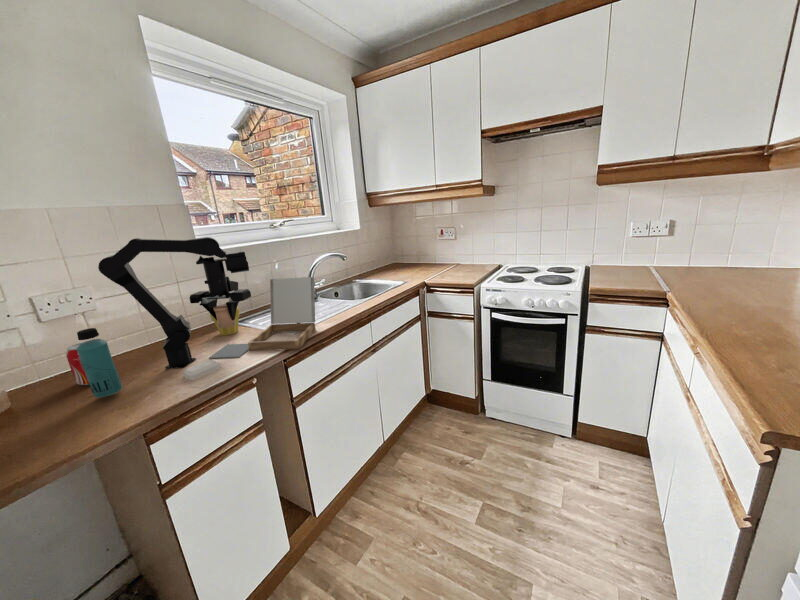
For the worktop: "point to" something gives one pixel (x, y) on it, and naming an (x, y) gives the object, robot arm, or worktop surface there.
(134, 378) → the worktop surface
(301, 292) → the lid
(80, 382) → the soda can
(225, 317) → the clay pot
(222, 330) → the plant pot
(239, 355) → the grey mat
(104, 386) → the beverage bottle
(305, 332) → the wooden tray
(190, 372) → the soap bar
